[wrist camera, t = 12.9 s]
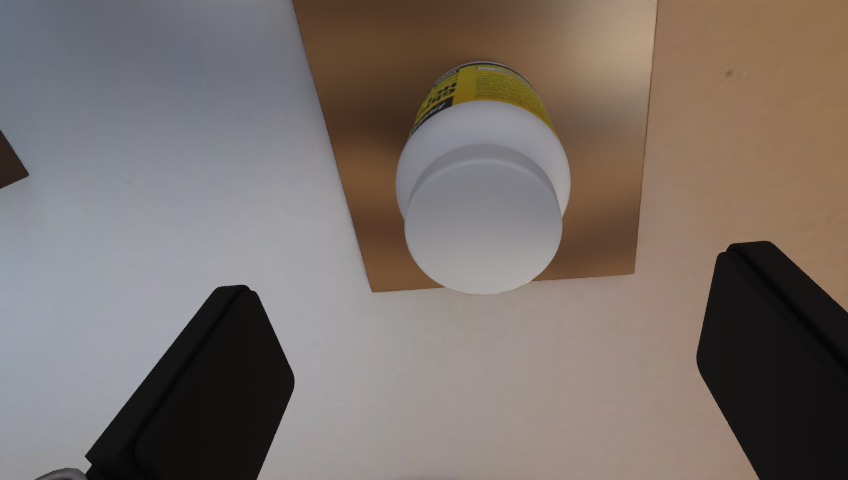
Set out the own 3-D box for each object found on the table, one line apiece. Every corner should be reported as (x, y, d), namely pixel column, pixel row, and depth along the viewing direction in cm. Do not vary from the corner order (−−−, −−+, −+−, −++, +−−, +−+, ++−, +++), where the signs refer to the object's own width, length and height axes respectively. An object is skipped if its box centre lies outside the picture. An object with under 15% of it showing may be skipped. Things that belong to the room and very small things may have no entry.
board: (277, -80, 20) (269, -82, 19) (664, -166, 17) (674, -174, 16) (374, 283, 30) (371, 292, 29) (629, 264, 27) (634, 274, 26)
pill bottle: (442, 39, 21) (414, 95, 11) (564, 85, 21) (636, 175, 12) (403, 158, 24) (357, 280, 14) (511, 195, 24) (533, 337, 15)
